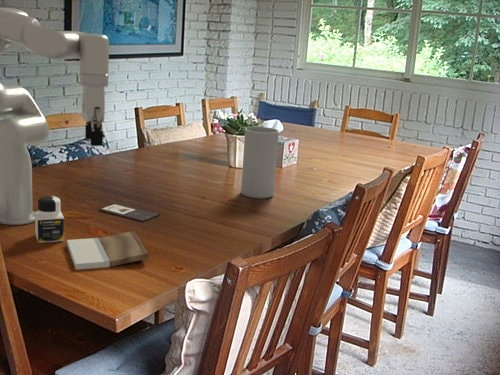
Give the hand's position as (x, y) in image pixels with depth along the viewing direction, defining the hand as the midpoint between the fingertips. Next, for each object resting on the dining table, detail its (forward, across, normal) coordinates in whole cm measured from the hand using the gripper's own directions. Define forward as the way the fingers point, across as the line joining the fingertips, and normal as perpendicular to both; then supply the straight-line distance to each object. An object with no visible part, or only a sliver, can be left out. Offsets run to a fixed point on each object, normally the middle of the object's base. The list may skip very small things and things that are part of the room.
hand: (93, 142), depth 180 cm
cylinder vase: (+28, -34, +67) cm, 81 cm away
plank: (+27, +15, +6) cm, 32 cm away
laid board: (+28, +15, -4) cm, 32 cm away
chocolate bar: (+29, -20, +15) cm, 38 cm away
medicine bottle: (+28, -1, -12) cm, 31 cm away
